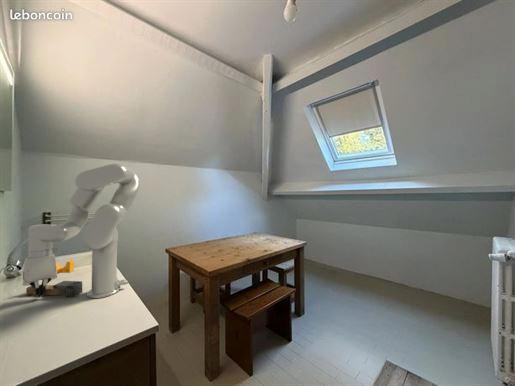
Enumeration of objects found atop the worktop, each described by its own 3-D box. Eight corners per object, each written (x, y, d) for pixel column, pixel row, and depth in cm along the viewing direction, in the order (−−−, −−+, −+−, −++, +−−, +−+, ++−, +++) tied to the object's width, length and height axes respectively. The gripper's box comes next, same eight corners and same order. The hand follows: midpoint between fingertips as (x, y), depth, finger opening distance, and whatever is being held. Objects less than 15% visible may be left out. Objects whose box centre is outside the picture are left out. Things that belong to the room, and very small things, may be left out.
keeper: (53, 296, 96) (53, 285, 96) (64, 291, 101) (64, 280, 101) (72, 297, 96) (72, 286, 96) (82, 292, 101) (82, 281, 101)
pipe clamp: (46, 273, 123) (46, 262, 123) (53, 271, 127) (53, 260, 127) (67, 274, 123) (67, 262, 123) (73, 271, 127) (73, 260, 127)
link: (22, 294, 97) (22, 289, 97) (34, 289, 102) (34, 284, 102) (63, 295, 97) (63, 289, 97) (73, 290, 102) (73, 285, 102)
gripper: (60, 248, 103) (60, 287, 103) (13, 255, 90) (13, 299, 90) (65, 250, 98) (65, 291, 98) (16, 259, 86) (16, 305, 86)
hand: (40, 295), depth 94 cm, fingers closed
